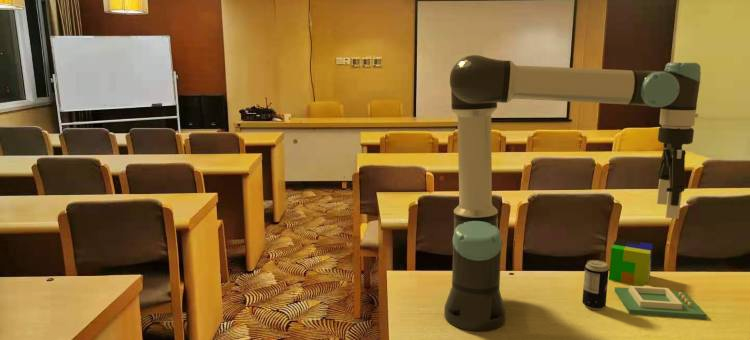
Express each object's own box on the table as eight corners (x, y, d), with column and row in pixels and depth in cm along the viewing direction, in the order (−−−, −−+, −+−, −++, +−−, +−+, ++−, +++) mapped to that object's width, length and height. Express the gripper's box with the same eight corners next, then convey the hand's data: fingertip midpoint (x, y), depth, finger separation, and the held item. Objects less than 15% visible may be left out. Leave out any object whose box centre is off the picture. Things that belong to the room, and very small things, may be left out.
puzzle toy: (649, 275, 161) (653, 244, 159) (646, 287, 153) (649, 254, 151) (614, 269, 166) (616, 238, 164) (608, 280, 158) (611, 247, 156)
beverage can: (607, 312, 137) (611, 268, 135) (584, 310, 138) (587, 266, 136) (602, 302, 143) (606, 260, 140) (580, 300, 144) (583, 258, 141)
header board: (629, 313, 136) (630, 303, 136) (614, 291, 150) (615, 282, 149) (706, 319, 133) (707, 309, 133) (683, 295, 147) (684, 286, 146)
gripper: (706, 133, 118) (694, 226, 122) (683, 122, 141) (674, 200, 145) (668, 132, 120) (658, 222, 124) (652, 121, 143) (644, 197, 148)
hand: (667, 210), depth 135 cm, fingers open, 13 cm apart
